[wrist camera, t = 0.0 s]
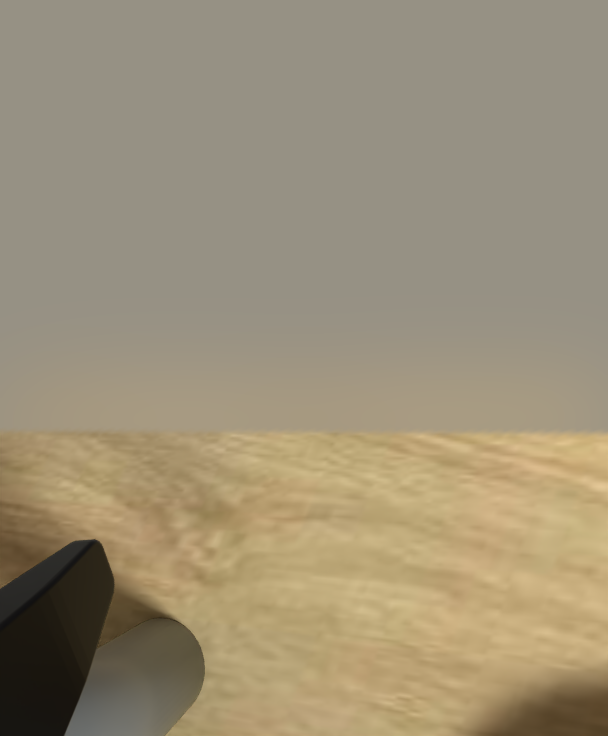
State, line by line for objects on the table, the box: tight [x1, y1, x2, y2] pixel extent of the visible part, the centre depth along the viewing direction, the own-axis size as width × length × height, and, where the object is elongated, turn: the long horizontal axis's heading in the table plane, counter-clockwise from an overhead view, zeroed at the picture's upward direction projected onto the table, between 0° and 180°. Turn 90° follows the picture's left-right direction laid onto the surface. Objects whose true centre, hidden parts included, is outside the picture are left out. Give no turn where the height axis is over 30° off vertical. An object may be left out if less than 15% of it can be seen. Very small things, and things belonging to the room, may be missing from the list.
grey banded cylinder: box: [65, 618, 205, 736], centre depth 17 cm, size 4×4×12 cm
